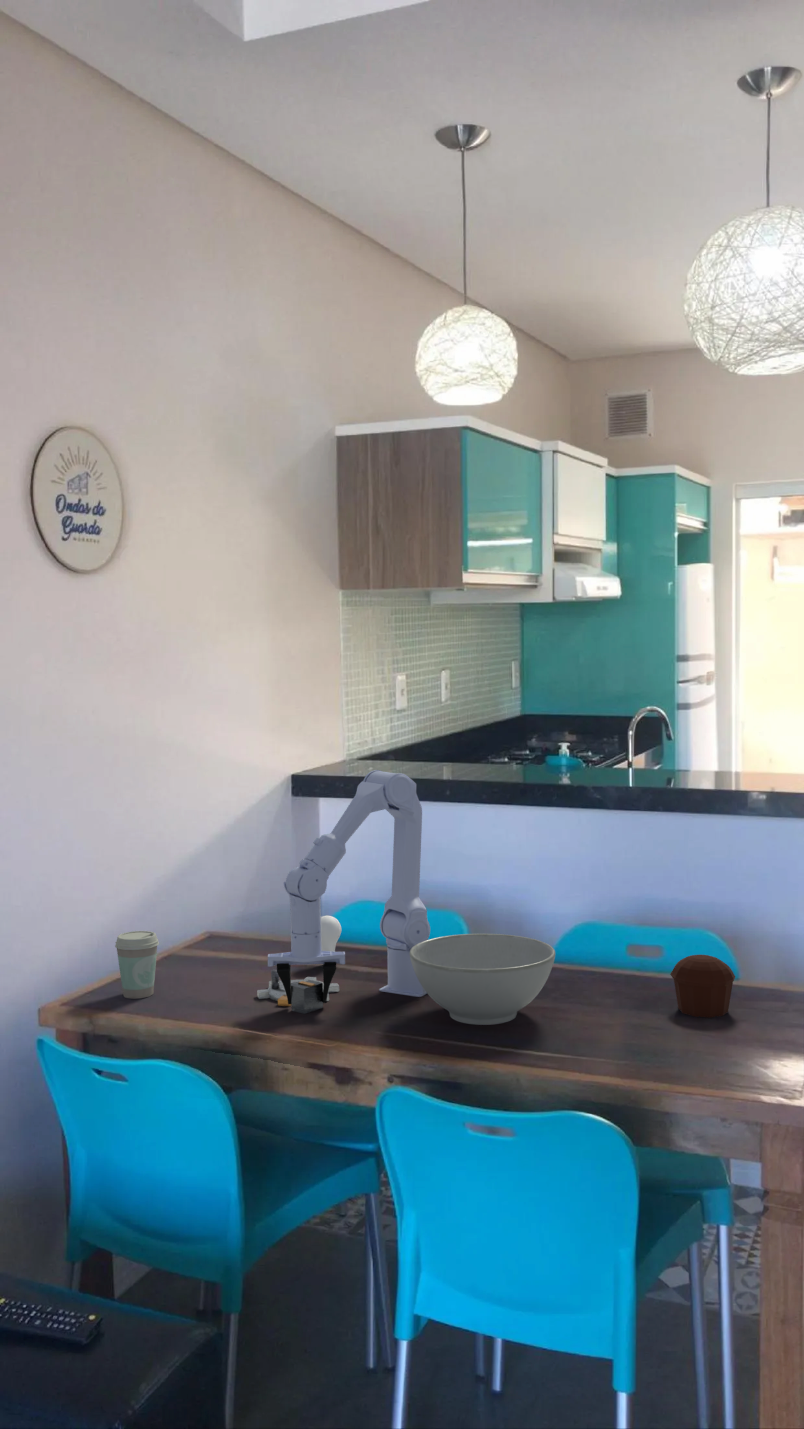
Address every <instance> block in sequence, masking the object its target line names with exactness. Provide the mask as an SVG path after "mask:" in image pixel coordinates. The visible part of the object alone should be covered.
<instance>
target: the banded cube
mask: <svg viewBox="0 0 804 1429" xmlns="http://www.w3.org/2000/svg"><path fill="white" fill-rule="evenodd" d="M317 981H318V980H316V981H312V980H308V981H302V982H298V984H295V985H292V986H291V998H292V999H291V1002H292V1005H291V1012H296V1013H299V1014H303V1015H306V1014H308V1013H311V1012H315V1011H318V1010H321V1009H323V1008H324V1003H323V983H321V982H322V981H321V982H317Z"/></svg>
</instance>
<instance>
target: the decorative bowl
mask: <svg viewBox="0 0 804 1429" xmlns="http://www.w3.org/2000/svg"><path fill="white" fill-rule="evenodd" d="M410 959H411V963H412V966H413V969H414V971H415V974H416V976H417V978H418V980H419V982H420V983H421V985H422V987H423V988H424V990H425V991H426V992H427V994H426V995H428V996H429V997H430V998H431V999H432V1000H433V1002H435V1003H436V1004H438V1005H439V1006H440V1007H441V1008H443V1009H445V1010H446V1011H448V1013H449V1017H450V1018H451V1019H452V1020H454V1021H456V1022H459V1023H462V1024H466V1025H467V1024H468V1025H474V1026H475V1025H476V1026H479V1025H480V1026H482V1025H483V1026H487V1025H488V1026H489V1025H491V1026H492V1025H499V1024H505V1023H508V1022H510V1021H513V1020H514V1019H515V1018H516V1017H517V1014H518V1011H520V1010H522V1009H524V1008H525V1007H526V1006H527V1005H529V1004H530V1003H531V1002H532V1001H534V999H535V998H536V997H537V996H539V993H540V992H541V991H542V990H543V987H544V986H545V984H547V983H546V982H547V981H548V979H549V977H550V974H551V971H552V969H553V966H554V964H555V963H554V962H555V959H556V950H555V948H554V947H552V945H550V944H548V943H547V942H544V941H541V940H538V939H535V938H531V937H526V936H521V935H514V934H513V935H511V934H504V933H503V934H501V933H463V934H452V935H451V934H450V935H444V936H439V937H434V938H431V939H430V938H429V939H428V940H426V941H423V942H421V943H418V944H416V945H415V946H413V947H412V948H411V950H410Z"/></svg>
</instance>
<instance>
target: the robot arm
mask: <svg viewBox="0 0 804 1429" xmlns="http://www.w3.org/2000/svg"><path fill="white" fill-rule="evenodd" d="M384 810H386V812H388V813H389V814H390V815H391V816H392V817H393V820H394V822H393V823H394V825H393V846H392V847H393V850H392V852H393V853H392V872H391V873H392V875H391V876H392V879H391V881H392V882H391V896H390V897H389V899H387V901H386V902H385V903H384V911H383V915H382V916H381V918H380V922H379V929H380V932H381V934H382V936H383V937H384V938H385V944H386V948H387V949H386V951H387V952H386V953H387V954H386V955H387V958H386V960H387V985H384V986H383V987H381V988H379V989H378V990H379V992H383V993H384V992H385V993H390V994H397V995H404V996H410V997H417V998H418V997H419V998H420V997H424V996H425V995H428V994H427V992H426V991H425V990H424V988H423V987H422V985H421V983H420V982H419V980H418V978H417V976H416V974H415V971H414V969H413V966H412V963H411V959H410V950H411V948H412V947H413V946H415V945H416V944H418V943H421V942H423V941H426V940H429V939H430V938H429V937H430V934H431V926H430V925H431V924H430V922H429V921H428V910H427V908H426V906H425V904H424V903H423V901H422V900H421V898H420V883H421V881H420V878H421V874H420V873H421V856H422V855H421V854H422V853H421V852H422V830H423V829H422V828H423V827H422V826H423V825H422V824H423V807H422V804H421V802H420V800H419V797H418V794H417V783H416V782H415V781H414V780H413V779H412V778H410V777H409V776H408V775H407V774H405V773H403V772H402V773H401V772H398V773H397V772H389V771H383V770H379V769H374V770H373V769H372V770H371V771H369V772H368V773H367V774H366V775H365V776H364V778H363V780H362V781H361V782H360V783H359V784H358V785H357V787H356V792H355V795H354V797H353V798H352V800H351V801H350V803H349V804H348V806H347V807H346V809H345V811H344V813H343V814H342V815H341V817H340V818H339V820H338V821H337V823H336V825H335V826H334V827H333V829H332V831H331V832H330V833H327V834H323V835H321V836H320V837H316V838H315V840H314V841H313V844H314V845H313V846H312V848H311V849H310V850H309V852H308V853H307V855H306V856H305V857H304V859H301V860H300V861H299V866H296V867H293V868H292V869H291V870H290V871H289V872H288V873H287V876H286V878H285V881H284V882H283V888H284V890H285V892H286V893H287V894H288V896H289V906H290V912H289V914H290V947H291V949H290V950H291V951H288V952H287V951H286V952H279V953H278V952H277V953H268V954H267V967H274V966H276V970H277V973H278V975H279V980H280V981H282V983H283V986H284V988H285V991H286V995H287V999H288V1004H292V1002H291V999H292V998H291V980H292V978H291V976H292V975H291V973H292V969H291V968H292V967H291V966H296V965H298V966H299V965H305V966H306V965H322V973H323V981H322V982H323V983H324V985H323V1004H327V1003H328V1001H327V994H328V990H329V986H330V984H331V983H332V980H333V978H334V975H335V974H336V971H337V964H338V965H346V951H335V952H333V951H322V948H321V917H322V914H321V913H322V909H321V907H322V906H321V897H322V896H323V895H324V894H325V893H326V890H327V886H328V884H327V883H328V879H329V877H330V876H331V875H332V873H333V872H334V870H335V869H336V867H337V866H338V864H339V863H340V862H341V860H343V857H344V856H345V855H346V853H347V852H346V850H347V849H346V843H347V842H348V841H349V840H350V839H351V837H352V836H353V835H354V833H355V832H356V831H357V830H358V829H359V828H360V826H361V825H362V824H363V823H364V822H365V821H366V819H367V818H368V817H369V815H371V813H376V812H379V811H384Z"/></svg>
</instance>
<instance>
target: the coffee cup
mask: <svg viewBox="0 0 804 1429" xmlns="http://www.w3.org/2000/svg"><path fill="white" fill-rule="evenodd" d="M116 938H117V939H116V941H115V945H114V947H115V948H116V953H117V954H116V955H117V960H118V966H119V973H120V975H119V976H120V980H121V988H122V989H121V990H122V995H123V997H124V998H126V999H131V1000H133V999H134V1000H137V999H145V998H149V997H151V996H152V995H153V994H154V988H155V978H156V967H157V966H156V965H157V954H158V946H159V944H160V942H159V939H158V936H157V933H156V932H153V931H151V930H150V931H148V930H135V931H133V930H132V931H128V932H122V933H120V934H119V935H117V937H116Z"/></svg>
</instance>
